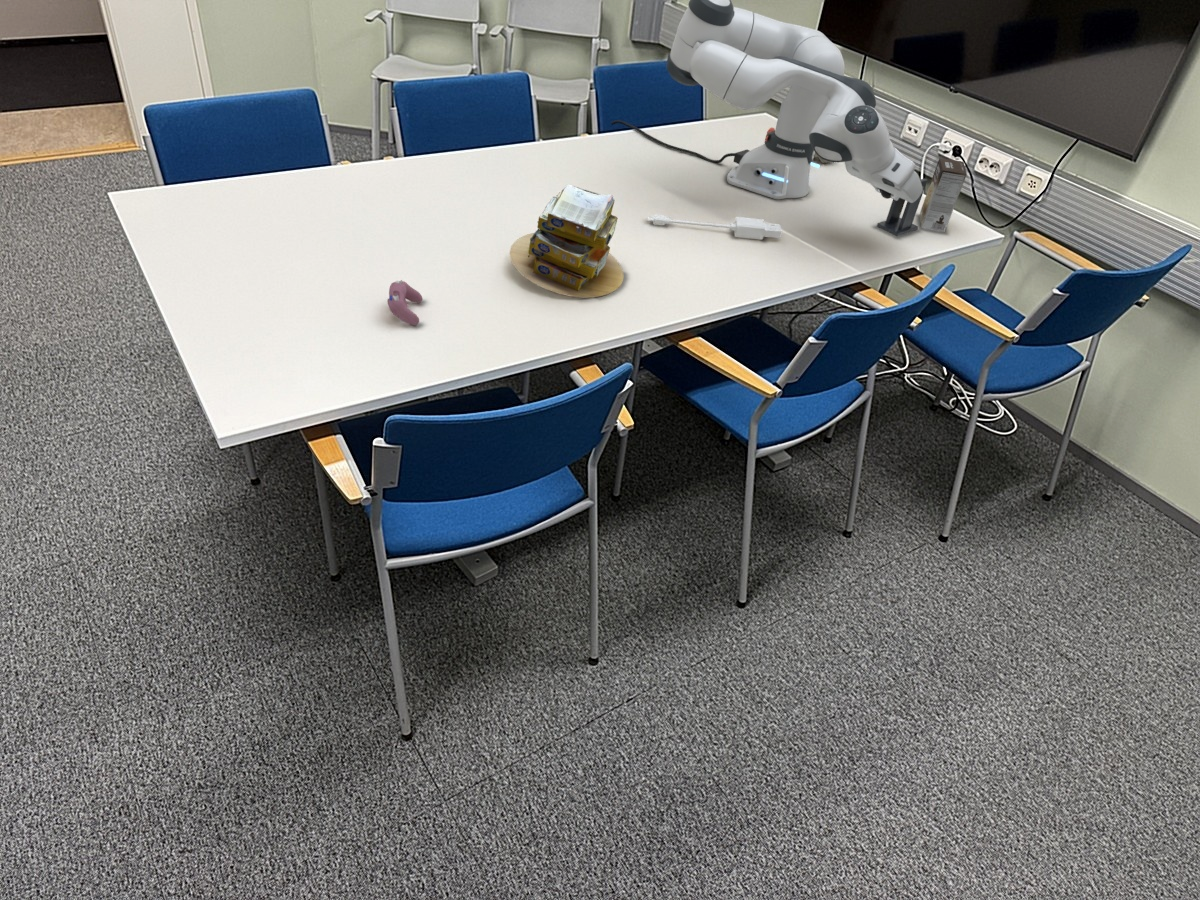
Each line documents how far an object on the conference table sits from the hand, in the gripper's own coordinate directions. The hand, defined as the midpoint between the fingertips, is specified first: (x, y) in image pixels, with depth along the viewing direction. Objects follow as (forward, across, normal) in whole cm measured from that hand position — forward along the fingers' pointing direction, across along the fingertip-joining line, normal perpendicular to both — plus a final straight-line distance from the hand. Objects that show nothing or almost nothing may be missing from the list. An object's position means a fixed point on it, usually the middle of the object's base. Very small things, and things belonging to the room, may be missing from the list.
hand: (888, 193), depth 215 cm
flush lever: (+4, 0, +2) cm, 4 cm away
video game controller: (-77, -22, -93) cm, 123 cm away
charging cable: (-18, -21, -34) cm, 44 cm away
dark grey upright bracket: (+14, 0, -1) cm, 15 cm away
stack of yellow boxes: (-50, -21, -66) cm, 85 cm away
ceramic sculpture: (+28, -45, +12) cm, 54 cm away
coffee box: (+23, +3, +7) cm, 24 cm away
